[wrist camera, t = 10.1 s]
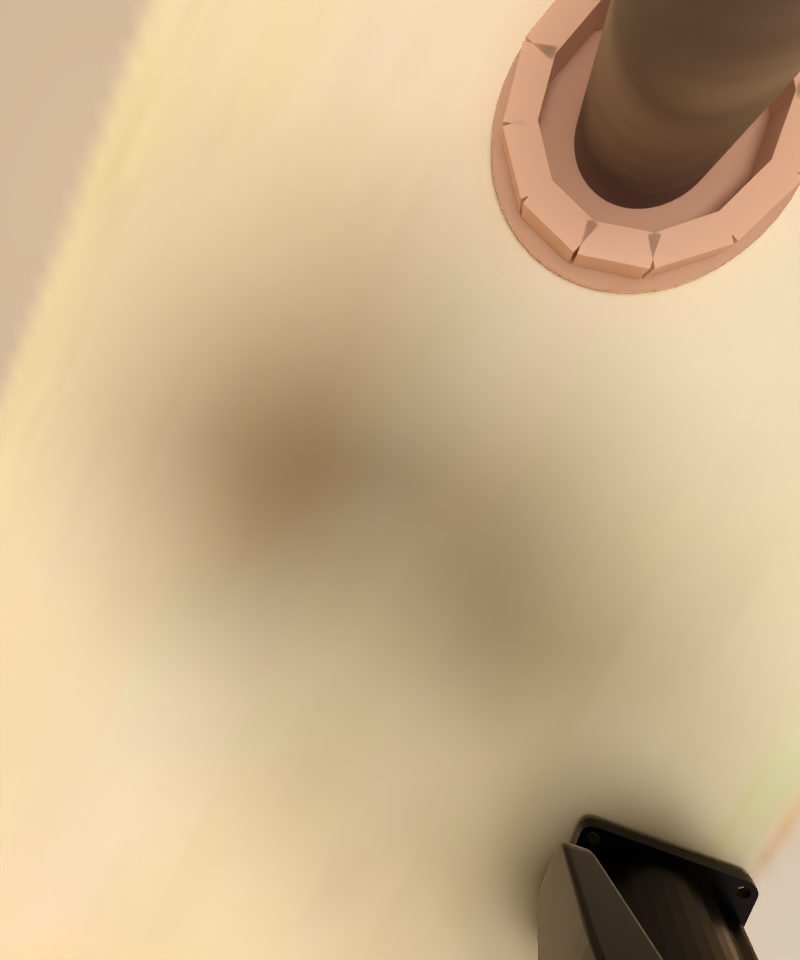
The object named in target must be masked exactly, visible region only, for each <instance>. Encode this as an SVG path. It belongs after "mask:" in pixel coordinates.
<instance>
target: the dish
mask: <svg viewBox="0 0 800 960" xmlns="http://www.w3.org/2000/svg"><path fill="white" fill-rule="evenodd" d="M610 2H611V0H555V2H554V3H553V4H552V5H551V7H550V8H549V9H548V10H547V11H546V13H545V14H544V15H543V16H542V17H541V19H540V20H539V21H538V22H537V23H536V25H535V26H534V27H533V28H532V30H531V31H530V32H529V33H528V34H527V36H526V42H524V41H523V45H522V48H521V50H520V51H519V53H518V55H517V57H516V58H515V60H514V62H513V63H512V66H511V68H510V70H509V73H508V75H507V77H506V79H505V82H504V84H503V87H502V90H501V93H500V97H499V100H498V103H497V107H496V112H495V118H494V123H493V132H492V146H491V148H492V168H493V177H494V182H495V188H496V193H497V196H498V199H499V202H500V205H501V208H502V211H503V213H504V215H505V217H506V219H507V221H508V223H509V225H510V227H511V229H512V230H513V232H514V233H515V235H516V236H517V238H518V239H519V241H520V242H521V244H522V245H523V246H524V247H525V248H526V249H527V250H528V251H529V253H530V254H531V255H532V256H533V257H534V258H536V259H537V260H538V261H539V262H540V263H541V264H543V265H544V266H545V267H546V268H548V269H549V270H551V271H552V272H554V273H556V274H557V275H559V276H560V277H562V278H564V279H567V280H569V281H571V282H573V283H576V284H578V285H581V286H584V287H588V288H591V289H595V290H599V291H606V292H613V293H644V292H652V291H659V290H663V289H667V288H671V287H675V286H679V285H681V284H684V283H687V282H689V281H692V280H695V279H697V278H699V277H701V276H703V275H705V274H707V273H709V272H711V271H713V270H715V269H717V268H719V267H720V266H722V265H723V264H725V263H726V262H728V261H729V260H731V259H732V258H734V257H735V256H737V255H738V254H740V253H741V252H743V251H744V250H745V249H746V248H747V247H748V246H750V245H751V244H752V243H753V242H754V241H756V240H757V239H758V238H759V237H760V236H761V235H762V234H763V233H764V232H765V231H766V230H767V229H768V228H769V227H770V226H771V224H772V223H773V222H774V221H775V220H776V219H777V218H778V216H779V215H780V214H781V212H782V211H783V210H784V208H785V207H786V206H787V204H788V203H789V202H790V200H791V199H792V197H793V195H794V193H795V192H796V190H797V188H798V187H799V185H800V72H799V73H798V75H797V76H796V77H795V78H794V79H793V80H792V81H791V82H790V83H789V84H788V85H787V87H786V88H785V89H784V90H783V91H782V92H781V93H780V94H779V95H778V96H777V97H776V99H775V100H774V101H773V102H772V103H771V104H770V105H769V106H768V107H767V108H766V109H765V111H764V112H763V113H762V114H761V115H760V116H759V117H758V118H757V119H756V120H755V121H754V123H753V124H752V125H751V126H750V127H749V128H748V129H747V130H746V131H745V132H744V133H743V135H742V136H741V137H740V138H739V139H738V140H737V141H736V142H735V143H734V144H733V146H732V147H731V148H730V149H729V150H728V151H727V152H726V153H725V154H724V155H723V156H722V158H721V159H720V160H719V161H718V162H717V163H716V164H715V165H714V166H713V167H712V168H711V170H710V171H709V172H708V173H707V174H706V175H705V176H704V177H703V178H702V179H701V180H700V181H699V183H698V184H697V185H695V186H694V187H693V188H692V189H691V190H690V191H688V192H687V193H685V194H684V195H682V196H681V197H679V198H677V199H675V200H673V201H671V202H669V203H666V204H664V205H661V206H657V207H653V208H646V209H630V208H624V207H620V206H617V205H614V204H612V203H609V202H607V201H605V200H604V199H602V198H601V197H599V196H598V195H597V194H596V193H595V192H593V191H592V190H591V188H590V187H589V186H588V185H587V184H586V182H585V180H584V179H583V177H582V175H581V173H580V171H579V168H578V165H577V162H576V158H575V151H574V137H575V129H576V125H577V121H578V117H579V113H580V110H581V106H582V103H583V99H584V95H585V92H586V88H587V85H588V81H589V77H590V74H591V70H592V67H593V63H594V59H595V56H596V52H597V49H598V45H599V41H600V38H601V34H602V31H603V27H604V23H605V20H606V16H607V12H608V9H609V5H610Z"/></svg>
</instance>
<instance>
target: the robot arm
mask: <svg viewBox="0 0 800 960" xmlns="http://www.w3.org/2000/svg"><path fill="white" fill-rule="evenodd" d="M590 832H595V833H597V834H596V835H589V834H588V833H590ZM741 886H743V887H744V888H741V889H738V887H741ZM757 898H758V890H757V888H756V886H755V884H754V882H753V880H752V878H751V877H750V876H749V875H748V874H746V873H744V872H742V871H739V870H736V869H734V868H731V867H728V866H725V865H722V864H720V863H717V862H714V861H711V860H708V859H706V858H703V857H700V856H697V855H694V854H692V853H689V852H686V851H683V850H681V849H678V848H675V847H672V846H669V845H667V844H664V843H661V842H658V841H655V840H653V839H650V838H647V837H644V836H641V835H639V834H636V833H633V832H630V831H627V830H625V829H622V828H619V827H616V826H614V825H611V824H608V823H605V822H602V821H600V820H597V819H593V818H587V819H584V820H582V821H581V822H580V824H579V825H578V828H577V831H576V833H575V836H574V839H573V841H572V844H571V843H567V842H561V843H560V844H559V845H558V846H557V848H556V850H555V852H554V854H553V857H552V859H551V862H550V864H549V867H548V869H547V872H546V874H545V877H544V879H543V881H542V884H541V888H540V892H539V900H538V960H758V958H757V956H756V954H755V952H754V950H753V947H752V945H751V943H750V940H749V938H748V936H747V934H746V932H745V930H744V926H745V923H746V921H747V919H748V917H749V915H750V913H751V911H752V909H753V906H754V904H755V902H756V900H757Z"/></svg>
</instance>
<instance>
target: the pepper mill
mask: <svg viewBox="0 0 800 960" xmlns="http://www.w3.org/2000/svg"><path fill="white" fill-rule="evenodd" d="M799 72H800V0H611V2H610V5H609V9H608V12H607V16H606V20H605V23H604V27H603V31H602V34H601V38H600V41H599V45H598V49H597V52H596V56H595V59H594V63H593V67H592V70H591V74H590V77H589V81H588V85H587V88H586V92H585V95H584V99H583V103H582V106H581V110H580V113H579V117H578V121H577V125H576V129H575V137H574V151H575V158H576V162H577V165H578V168H579V171H580V173H581V175H582V177H583V179H584V180H585V182H586V184H587V185H588V186H589V187H590V188H591V190H592V191H593V192H595V193H596V194H597V195H598V196H599V197H601V198H602V199H604V200H605V201H607V202H609V203H612V204H614V205H617V206H620V207H624V208H630V209H646V208H653V207H657V206H661V205H664V204H666V203H669V202H671V201H673V200H675V199H677V198H679V197H681V196H682V195H684V194H685V193H687V192H688V191H690V190H691V189H692V188H693V187H694V186H695V185H697V184H698V183H699V181H700V180H701V179H702V178H703V177H704V176H705V175H706V174H707V173H708V172H709V171H710V170H711V168H712V167H713V166H714V165H715V164H716V163H717V162H718V161H719V160H720V159H721V158H722V156H723V155H724V154H725V153H726V152H727V151H728V150H729V149H730V148H731V147H732V146H733V144H734V143H735V142H736V141H737V140H738V139H739V138H740V137H741V136H742V135H743V133H744V132H745V131H746V130H747V129H748V128H749V127H750V126H751V125H752V124H753V123H754V121H755V120H756V119H757V118H758V117H759V116H760V115H761V114H762V113H763V112H764V111H765V109H766V108H767V107H768V106H769V105H770V104H771V103H772V102H773V101H774V100H775V99H776V97H777V96H778V95H779V94H780V93H781V92H782V91H783V90H784V89H785V88H786V87H787V85H788V84H789V83H790V82H791V81H792V80H793V79H794V78H795V77H796V76H797V75H798V73H799Z"/></svg>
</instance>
